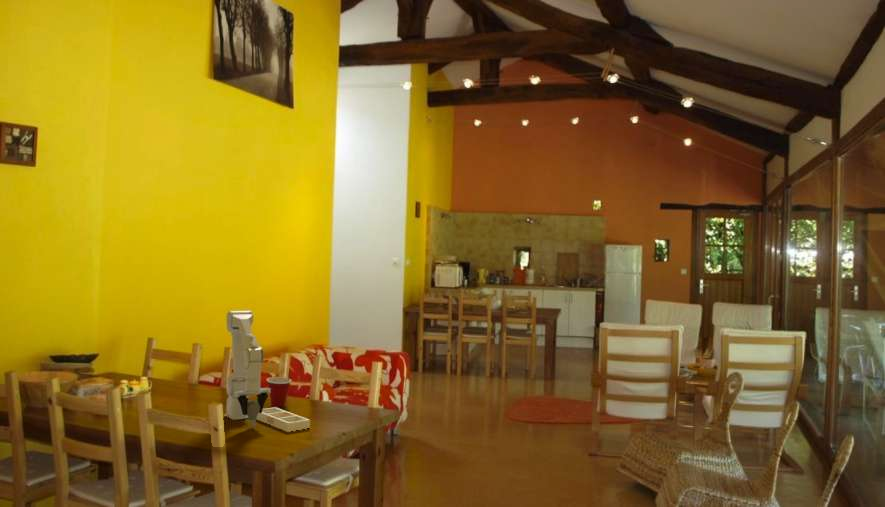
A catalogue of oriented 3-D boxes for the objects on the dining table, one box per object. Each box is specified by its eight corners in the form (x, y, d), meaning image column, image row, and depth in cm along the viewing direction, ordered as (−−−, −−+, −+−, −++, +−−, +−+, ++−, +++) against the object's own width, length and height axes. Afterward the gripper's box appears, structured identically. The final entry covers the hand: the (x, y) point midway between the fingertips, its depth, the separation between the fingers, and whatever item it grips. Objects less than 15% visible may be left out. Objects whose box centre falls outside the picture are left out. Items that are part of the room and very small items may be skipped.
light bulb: (247, 428, 282) (247, 402, 282) (241, 425, 287) (242, 400, 287) (262, 426, 285) (262, 400, 286) (256, 424, 290) (256, 398, 291)
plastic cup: (276, 409, 319) (277, 382, 319) (260, 405, 326) (261, 379, 325) (295, 405, 328) (296, 379, 328) (279, 402, 334) (280, 376, 334)
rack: (253, 418, 302) (253, 410, 302) (275, 415, 308) (275, 407, 308) (287, 432, 281) (287, 423, 281) (309, 428, 288) (309, 419, 288)
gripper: (240, 382, 278) (239, 418, 278) (274, 378, 288) (273, 413, 288) (232, 379, 284) (231, 414, 284) (266, 375, 293) (265, 409, 293)
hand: (252, 413), depth 286 cm, fingers closed on light bulb, 6 cm apart
